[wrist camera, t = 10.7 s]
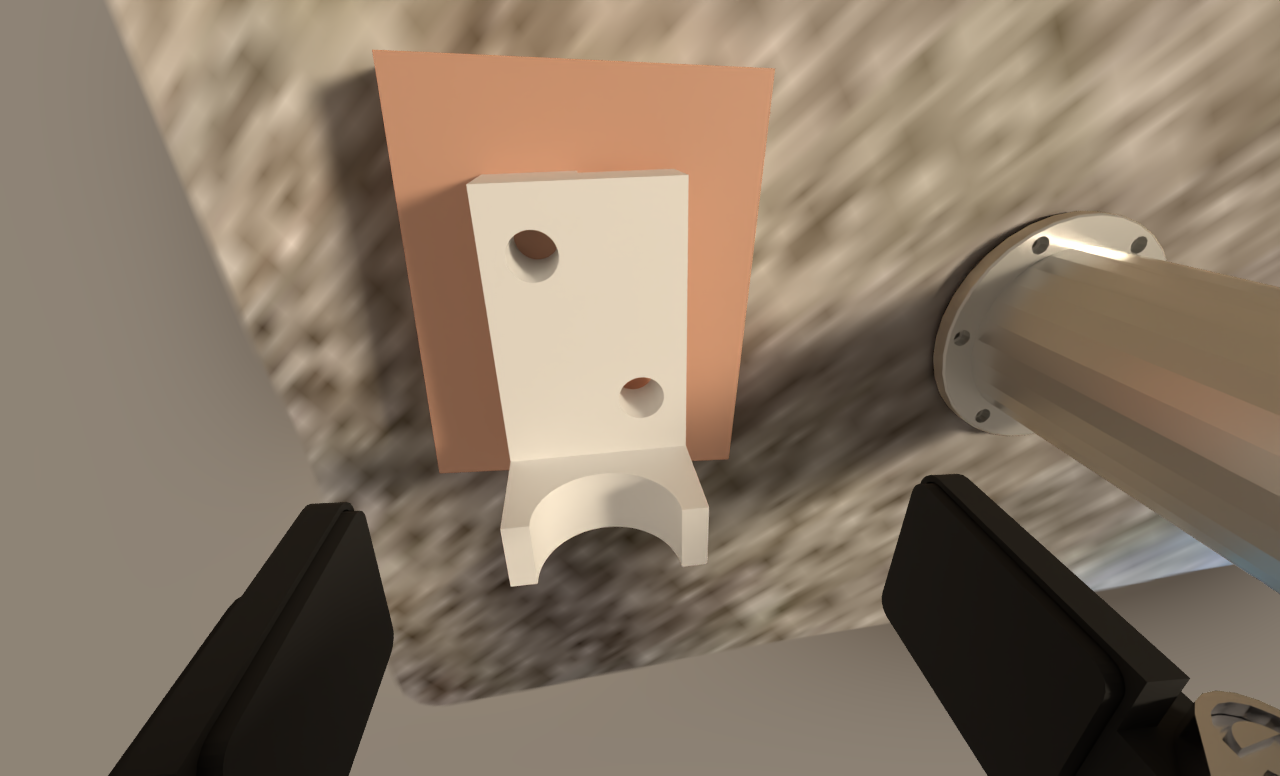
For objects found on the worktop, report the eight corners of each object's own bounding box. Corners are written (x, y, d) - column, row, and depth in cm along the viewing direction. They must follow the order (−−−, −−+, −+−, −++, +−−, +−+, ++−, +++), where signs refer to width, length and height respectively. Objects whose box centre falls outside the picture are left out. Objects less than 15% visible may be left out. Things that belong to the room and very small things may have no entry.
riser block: (742, 76, 24) (775, 68, 20) (709, 420, 31) (728, 459, 27) (403, 61, 22) (372, 49, 18) (454, 430, 29) (439, 473, 26)
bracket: (670, 452, 27) (707, 563, 20) (524, 466, 26) (510, 586, 19) (669, 166, 21) (720, 188, 14) (481, 174, 20) (440, 201, 13)
